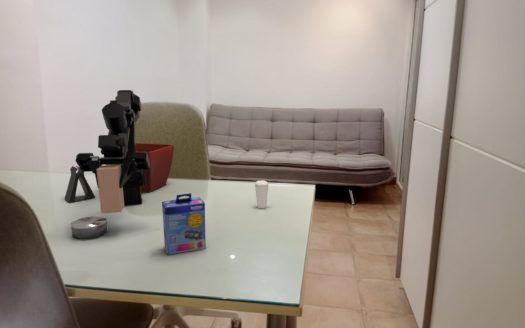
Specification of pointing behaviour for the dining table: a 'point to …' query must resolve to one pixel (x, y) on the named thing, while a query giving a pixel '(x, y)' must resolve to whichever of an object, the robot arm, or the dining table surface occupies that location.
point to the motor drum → (89, 228)
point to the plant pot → (156, 164)
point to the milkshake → (261, 193)
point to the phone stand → (73, 186)
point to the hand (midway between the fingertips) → (109, 187)
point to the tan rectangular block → (110, 188)
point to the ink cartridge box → (184, 224)
